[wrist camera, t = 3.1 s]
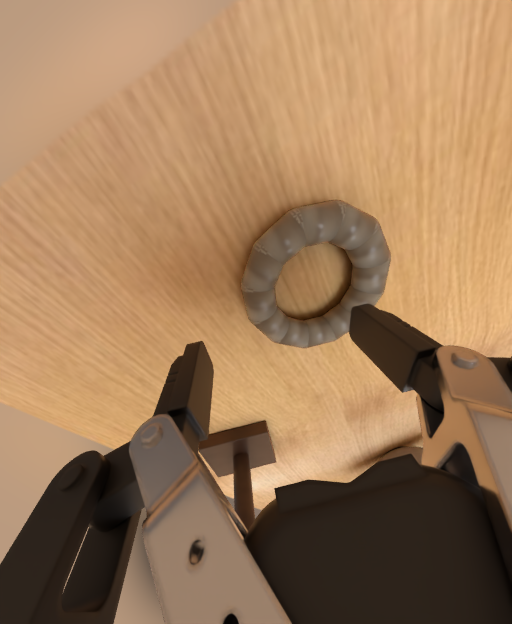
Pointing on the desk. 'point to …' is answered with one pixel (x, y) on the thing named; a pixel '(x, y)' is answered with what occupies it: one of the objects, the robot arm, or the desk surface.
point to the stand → (240, 461)
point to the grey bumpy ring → (305, 232)
